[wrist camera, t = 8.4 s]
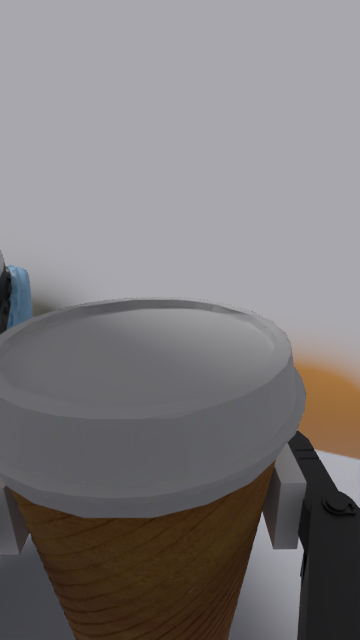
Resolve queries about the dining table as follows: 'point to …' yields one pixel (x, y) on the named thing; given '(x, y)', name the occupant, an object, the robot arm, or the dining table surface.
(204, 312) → the disposable coffee cup
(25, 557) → the dining table surface
